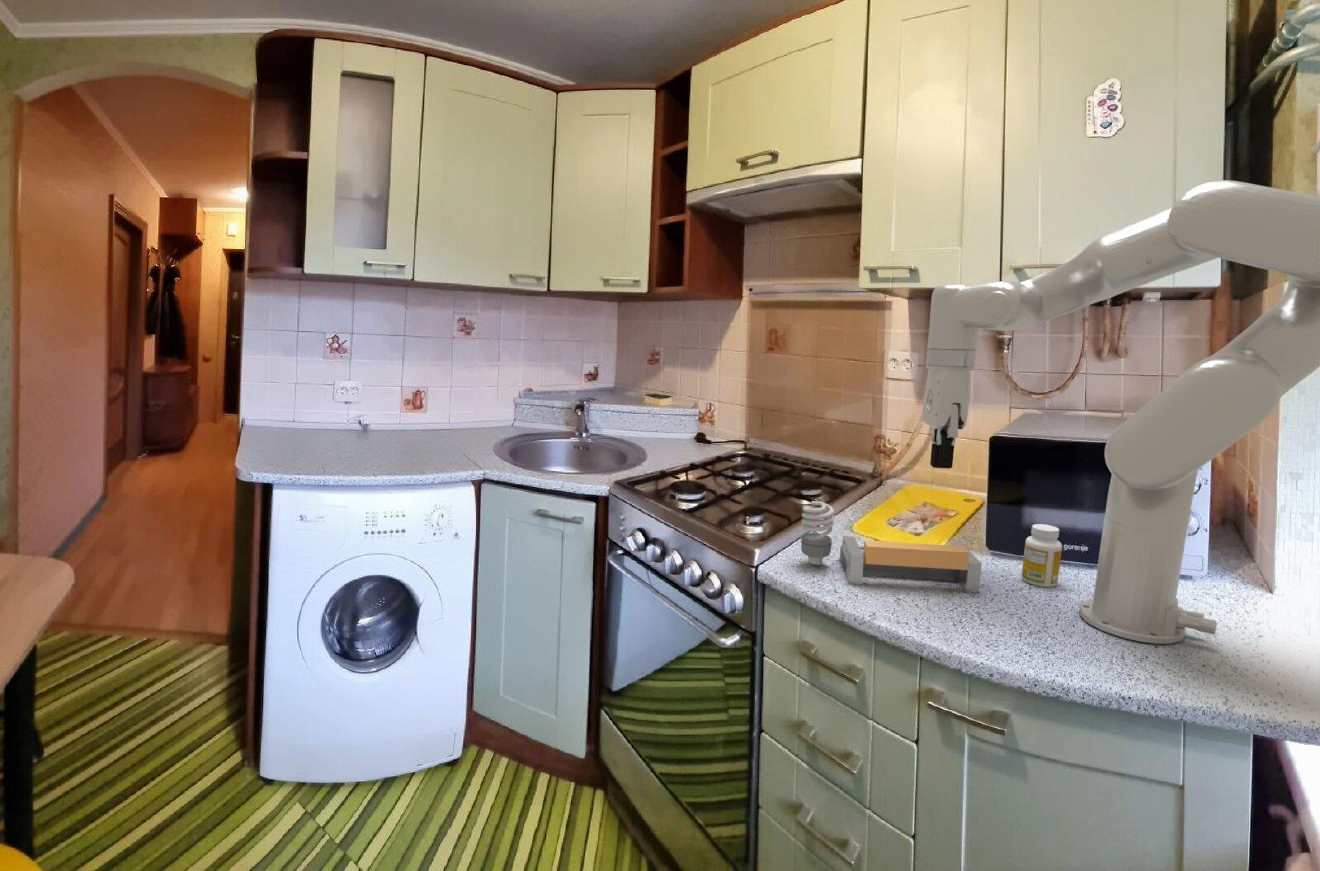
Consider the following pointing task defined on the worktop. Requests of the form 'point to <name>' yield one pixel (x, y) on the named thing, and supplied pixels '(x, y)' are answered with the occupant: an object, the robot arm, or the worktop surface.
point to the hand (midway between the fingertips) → (940, 466)
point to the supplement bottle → (1042, 556)
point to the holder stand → (906, 568)
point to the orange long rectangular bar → (916, 555)
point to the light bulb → (816, 542)
